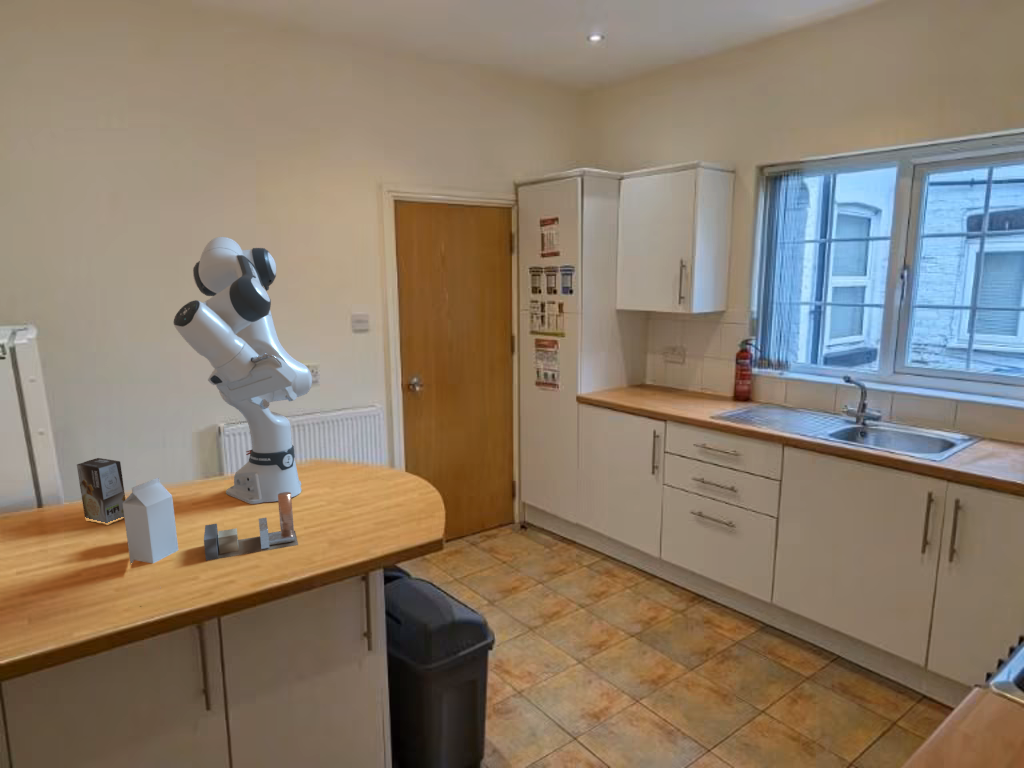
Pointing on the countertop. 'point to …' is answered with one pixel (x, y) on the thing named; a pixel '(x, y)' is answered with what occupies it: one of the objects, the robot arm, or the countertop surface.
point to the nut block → (228, 541)
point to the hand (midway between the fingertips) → (280, 403)
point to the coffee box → (101, 489)
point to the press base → (243, 544)
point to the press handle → (285, 524)
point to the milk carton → (150, 522)
